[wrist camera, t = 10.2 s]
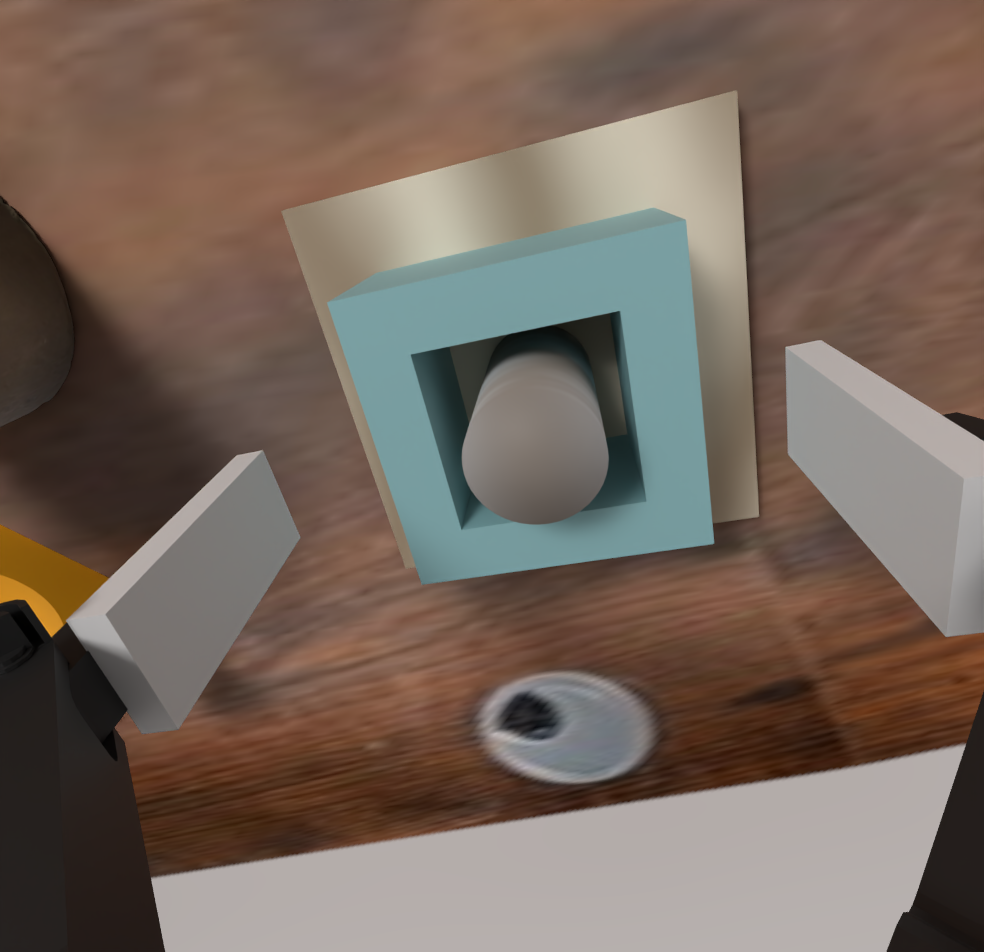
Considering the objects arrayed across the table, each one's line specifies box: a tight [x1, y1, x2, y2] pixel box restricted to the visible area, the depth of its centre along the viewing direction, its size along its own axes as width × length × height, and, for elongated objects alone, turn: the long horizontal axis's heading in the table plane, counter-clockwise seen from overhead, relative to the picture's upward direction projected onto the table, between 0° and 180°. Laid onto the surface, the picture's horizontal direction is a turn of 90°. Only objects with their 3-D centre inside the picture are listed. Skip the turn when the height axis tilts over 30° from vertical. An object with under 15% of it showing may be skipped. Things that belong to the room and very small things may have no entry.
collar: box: [327, 208, 714, 585], centre depth 19 cm, size 9×9×5 cm
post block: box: [281, 90, 759, 569], centre depth 19 cm, size 14×14×8 cm
